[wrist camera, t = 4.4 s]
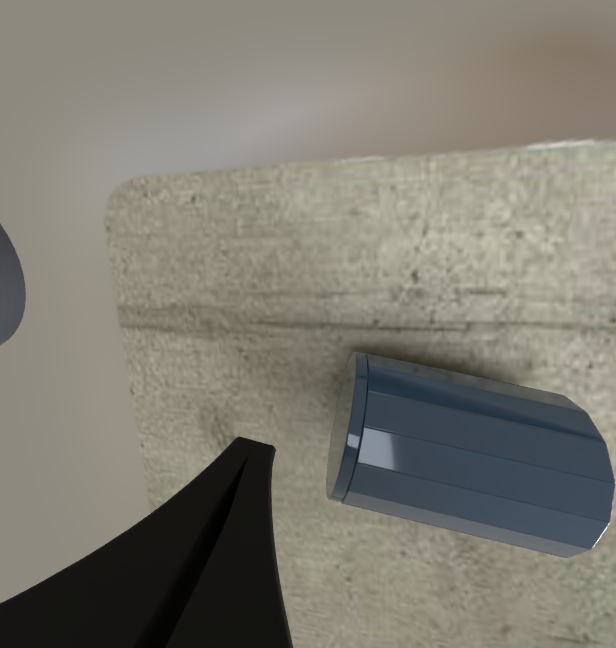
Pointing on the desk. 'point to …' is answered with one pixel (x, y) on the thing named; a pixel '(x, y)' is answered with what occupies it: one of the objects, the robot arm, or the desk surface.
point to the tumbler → (469, 456)
